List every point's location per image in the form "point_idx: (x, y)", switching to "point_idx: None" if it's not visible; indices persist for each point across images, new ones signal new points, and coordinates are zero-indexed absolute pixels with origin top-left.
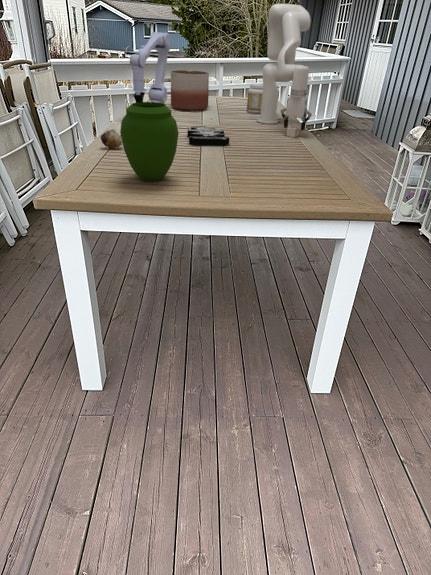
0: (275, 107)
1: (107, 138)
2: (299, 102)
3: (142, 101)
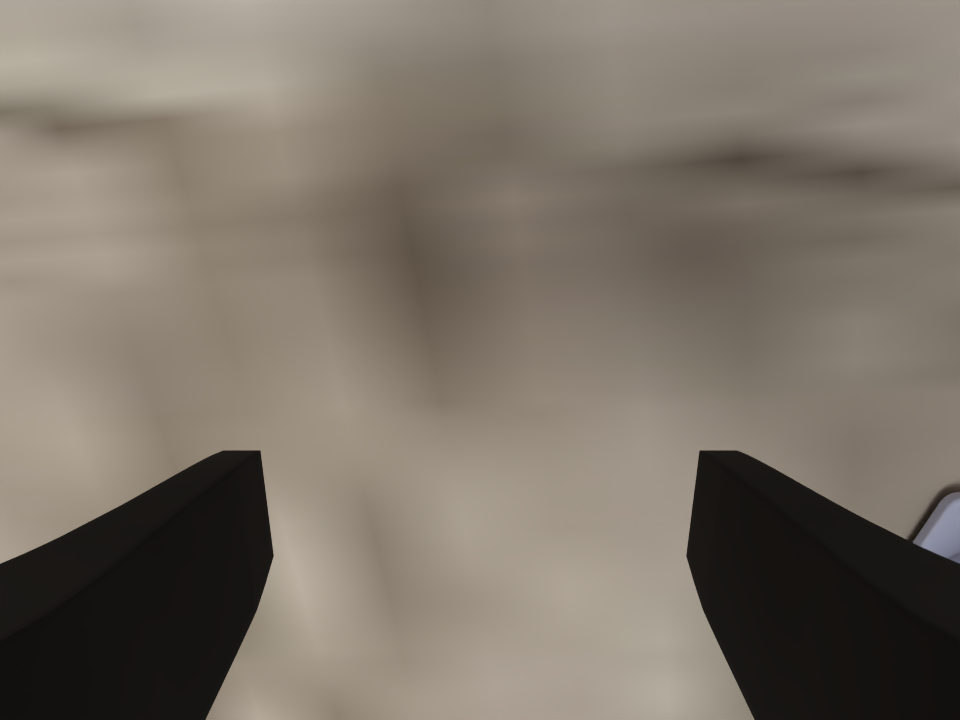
0: None
1: None
2: None
3: (748, 699)
